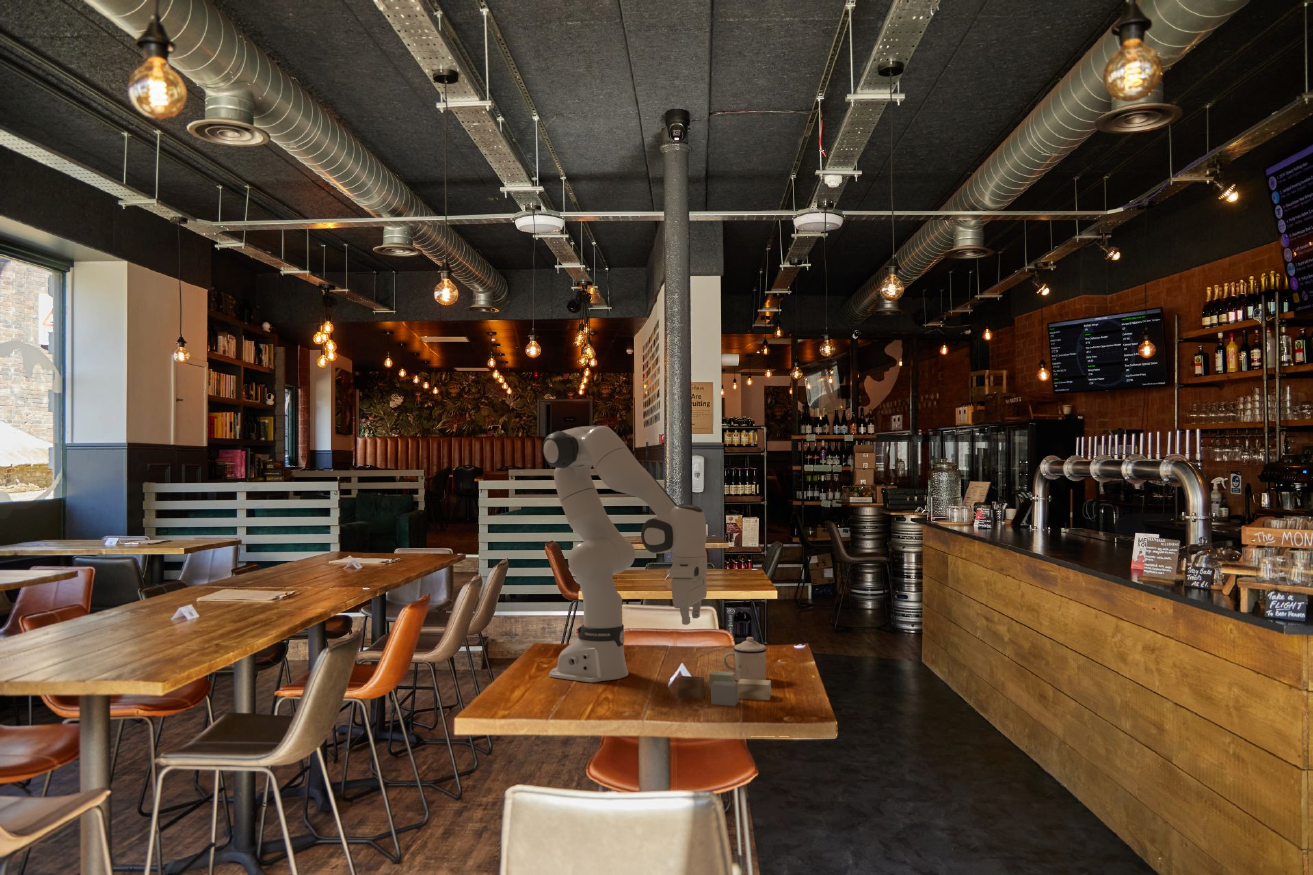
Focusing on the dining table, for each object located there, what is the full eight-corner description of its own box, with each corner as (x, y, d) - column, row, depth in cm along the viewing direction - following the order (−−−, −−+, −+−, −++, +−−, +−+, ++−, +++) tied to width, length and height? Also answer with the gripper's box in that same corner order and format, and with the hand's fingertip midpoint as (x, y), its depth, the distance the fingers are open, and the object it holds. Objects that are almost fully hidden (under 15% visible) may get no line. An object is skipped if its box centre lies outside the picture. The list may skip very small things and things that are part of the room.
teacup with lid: (767, 676, 242) (767, 634, 242) (766, 684, 233) (765, 641, 233) (725, 674, 244) (724, 633, 244) (722, 682, 235) (721, 640, 235)
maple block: (737, 699, 219) (737, 683, 219) (740, 694, 224) (740, 678, 224) (769, 700, 217) (768, 684, 217) (771, 695, 222) (770, 680, 222)
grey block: (711, 704, 214) (711, 684, 214) (714, 700, 217) (714, 680, 217) (734, 706, 212) (734, 685, 212) (737, 702, 215) (737, 682, 216)
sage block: (709, 693, 224) (709, 674, 225) (712, 690, 228) (712, 671, 228) (731, 695, 223) (731, 675, 223) (734, 691, 226) (734, 672, 226)
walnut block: (678, 698, 220) (678, 678, 220) (681, 694, 223) (681, 675, 223) (700, 700, 218) (700, 680, 218) (704, 696, 221) (704, 677, 221)
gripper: (689, 562, 233) (690, 614, 232) (667, 571, 213) (668, 627, 213) (711, 563, 231) (712, 614, 230) (691, 571, 211) (692, 628, 211)
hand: (691, 621), depth 221 cm, fingers open, 8 cm apart
